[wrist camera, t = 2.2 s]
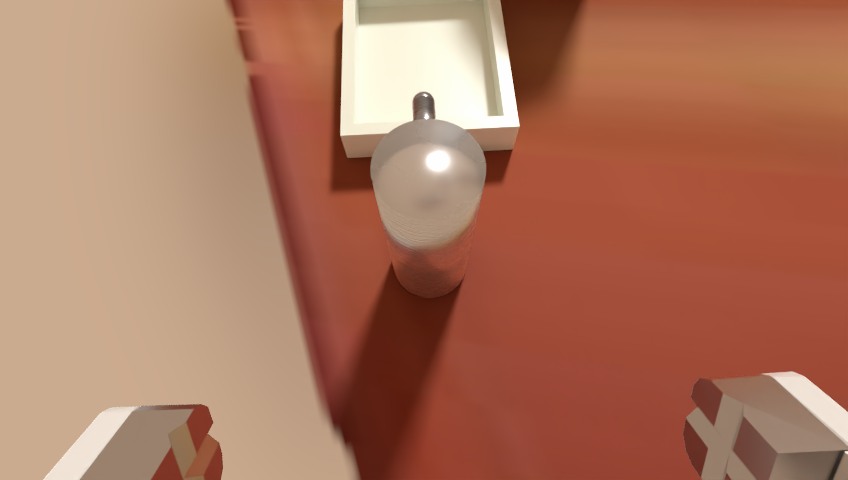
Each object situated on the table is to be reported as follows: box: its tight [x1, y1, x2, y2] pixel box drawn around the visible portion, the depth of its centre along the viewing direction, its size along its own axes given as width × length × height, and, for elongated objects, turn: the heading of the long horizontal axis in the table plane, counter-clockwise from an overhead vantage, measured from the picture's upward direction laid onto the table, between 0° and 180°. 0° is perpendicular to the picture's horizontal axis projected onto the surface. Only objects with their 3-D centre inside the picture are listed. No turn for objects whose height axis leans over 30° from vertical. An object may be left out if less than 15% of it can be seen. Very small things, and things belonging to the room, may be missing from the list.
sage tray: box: [340, 0, 520, 158], centre depth 38 cm, size 13×16×3 cm
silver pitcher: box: [370, 92, 486, 298], centre depth 27 cm, size 5×8×13 cm, turn 3°
